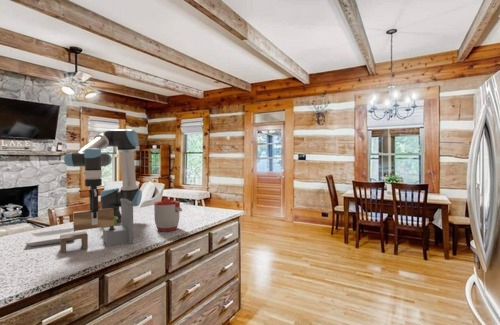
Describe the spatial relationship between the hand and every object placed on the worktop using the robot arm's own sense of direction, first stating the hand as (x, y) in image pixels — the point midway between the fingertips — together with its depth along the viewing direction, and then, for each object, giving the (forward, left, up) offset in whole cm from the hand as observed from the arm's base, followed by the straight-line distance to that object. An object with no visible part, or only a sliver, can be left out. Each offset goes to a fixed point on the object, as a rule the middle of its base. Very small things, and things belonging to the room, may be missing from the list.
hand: (94, 223), depth 145 cm
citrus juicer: (-7, +42, -11) cm, 44 cm away
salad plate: (-25, -17, -12) cm, 33 cm away
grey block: (0, +11, -11) cm, 16 cm away
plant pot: (-22, +11, -11) cm, 27 cm away
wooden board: (0, 0, -7) cm, 7 cm away
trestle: (0, -9, -11) cm, 14 cm away
